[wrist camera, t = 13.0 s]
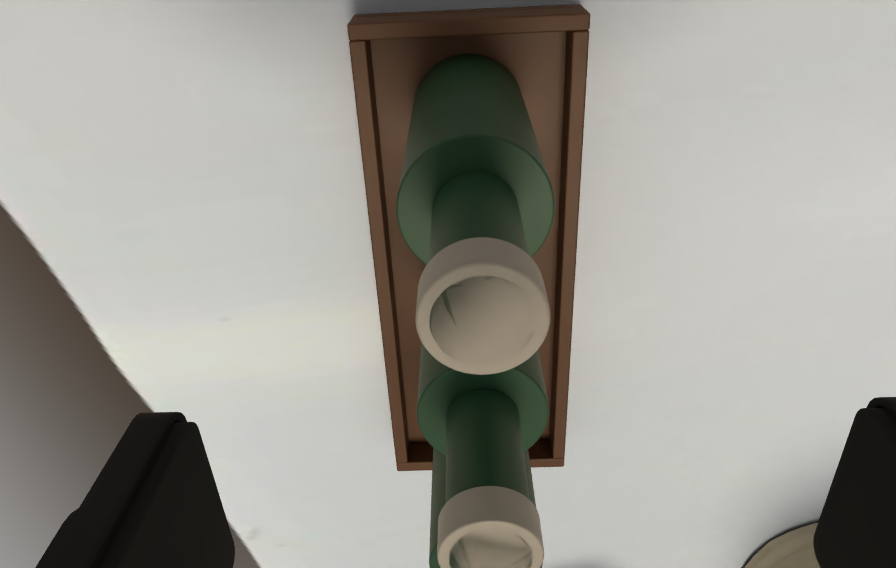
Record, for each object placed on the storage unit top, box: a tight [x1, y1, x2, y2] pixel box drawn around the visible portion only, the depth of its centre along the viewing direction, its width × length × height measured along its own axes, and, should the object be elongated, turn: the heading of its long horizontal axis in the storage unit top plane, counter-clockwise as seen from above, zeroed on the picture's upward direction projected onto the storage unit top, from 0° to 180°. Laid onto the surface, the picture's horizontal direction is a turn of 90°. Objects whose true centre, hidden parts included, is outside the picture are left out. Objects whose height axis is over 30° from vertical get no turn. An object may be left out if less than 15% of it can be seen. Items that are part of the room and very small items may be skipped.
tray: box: [347, 4, 590, 471], centre depth 31 cm, size 22×9×2 cm, turn 2°
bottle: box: [396, 53, 555, 375], centre depth 21 cm, size 4×4×16 cm
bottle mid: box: [416, 342, 549, 568], centre depth 25 cm, size 4×4×16 cm
